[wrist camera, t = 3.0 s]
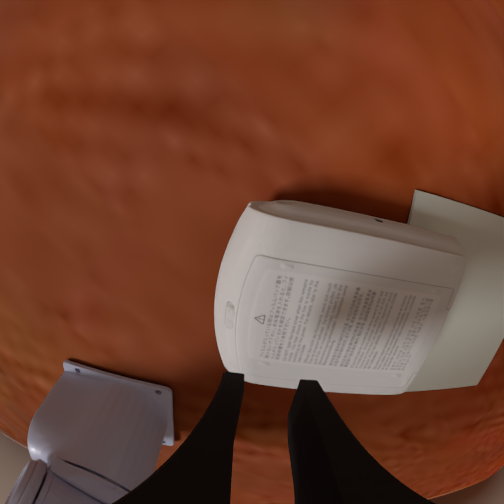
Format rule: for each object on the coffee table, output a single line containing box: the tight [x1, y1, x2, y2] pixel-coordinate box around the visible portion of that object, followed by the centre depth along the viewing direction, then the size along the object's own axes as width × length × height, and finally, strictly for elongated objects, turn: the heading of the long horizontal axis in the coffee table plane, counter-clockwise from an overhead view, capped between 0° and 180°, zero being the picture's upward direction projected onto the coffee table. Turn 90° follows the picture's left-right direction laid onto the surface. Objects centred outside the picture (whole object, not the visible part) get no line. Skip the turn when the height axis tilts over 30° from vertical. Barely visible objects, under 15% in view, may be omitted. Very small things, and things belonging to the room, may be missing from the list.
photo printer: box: [214, 200, 466, 395], centre depth 16 cm, size 10×4×12 cm
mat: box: [405, 190, 504, 392], centre depth 18 cm, size 14×15×1 cm
